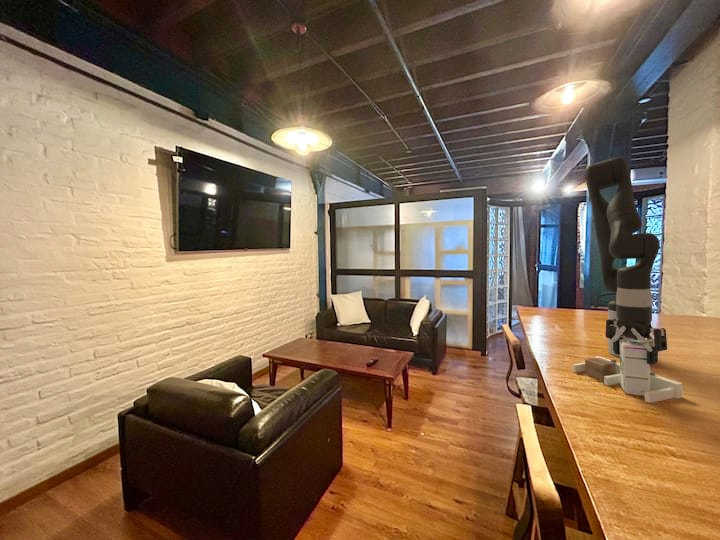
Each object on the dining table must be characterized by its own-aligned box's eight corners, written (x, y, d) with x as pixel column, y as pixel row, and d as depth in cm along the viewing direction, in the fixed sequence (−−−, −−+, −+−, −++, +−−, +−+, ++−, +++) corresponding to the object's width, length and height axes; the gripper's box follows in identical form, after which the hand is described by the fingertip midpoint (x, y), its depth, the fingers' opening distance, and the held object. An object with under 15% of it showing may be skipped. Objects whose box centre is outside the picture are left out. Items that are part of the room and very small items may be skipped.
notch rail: (598, 367, 103) (598, 353, 103) (682, 397, 81) (682, 380, 81) (572, 371, 101) (572, 357, 101) (651, 403, 79) (651, 386, 79)
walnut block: (598, 371, 100) (598, 357, 100) (615, 378, 94) (615, 363, 94) (585, 374, 99) (585, 359, 98) (601, 380, 93) (601, 365, 93)
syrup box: (651, 397, 82) (651, 346, 81) (623, 393, 85) (622, 343, 84) (645, 389, 87) (645, 340, 86) (619, 385, 90) (618, 338, 89)
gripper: (674, 306, 78) (674, 366, 79) (617, 299, 92) (618, 349, 93) (652, 309, 77) (652, 369, 78) (598, 301, 91) (599, 352, 92)
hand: (634, 358), depth 85 cm, fingers open, 8 cm apart
